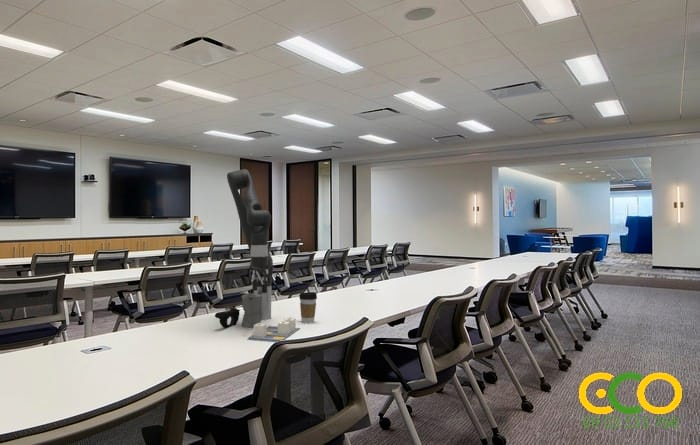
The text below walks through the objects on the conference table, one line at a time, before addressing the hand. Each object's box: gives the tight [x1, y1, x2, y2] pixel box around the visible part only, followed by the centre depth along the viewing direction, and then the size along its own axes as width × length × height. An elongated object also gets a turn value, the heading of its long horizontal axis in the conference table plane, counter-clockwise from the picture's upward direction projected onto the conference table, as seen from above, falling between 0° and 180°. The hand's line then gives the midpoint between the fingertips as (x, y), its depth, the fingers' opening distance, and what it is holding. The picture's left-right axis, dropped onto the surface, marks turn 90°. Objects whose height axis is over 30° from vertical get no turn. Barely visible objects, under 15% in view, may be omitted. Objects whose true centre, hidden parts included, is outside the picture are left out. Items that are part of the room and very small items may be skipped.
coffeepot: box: [241, 288, 262, 329], centre depth 203 cm, size 15×9×18 cm, turn 8°
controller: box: [214, 304, 241, 329], centre depth 202 cm, size 4×12×10 cm, turn 145°
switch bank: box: [246, 325, 301, 343], centre depth 189 cm, size 14×24×2 cm, turn 167°
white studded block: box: [283, 316, 297, 331], centre depth 194 cm, size 4×4×6 cm
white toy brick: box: [252, 321, 268, 338], centre depth 183 cm, size 4×4×6 cm
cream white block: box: [277, 319, 290, 335], centre depth 188 cm, size 4×4×6 cm
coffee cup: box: [299, 291, 318, 324], centre depth 213 cm, size 8×8×15 cm
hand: (259, 291), depth 197 cm, fingers open, 8 cm apart
